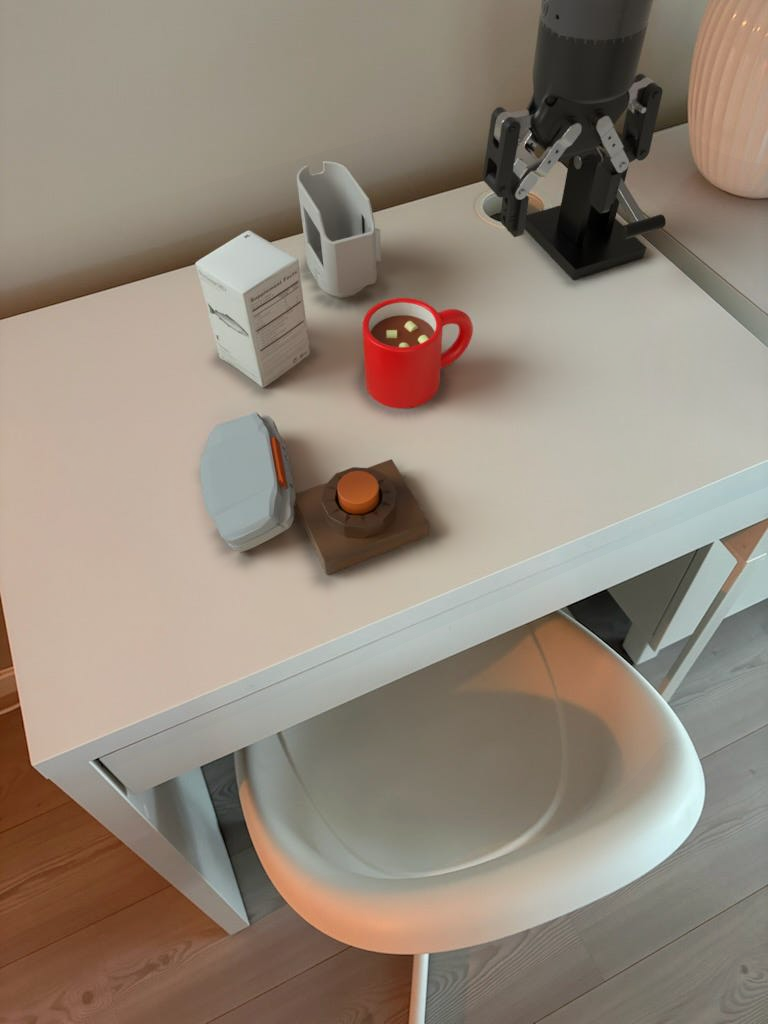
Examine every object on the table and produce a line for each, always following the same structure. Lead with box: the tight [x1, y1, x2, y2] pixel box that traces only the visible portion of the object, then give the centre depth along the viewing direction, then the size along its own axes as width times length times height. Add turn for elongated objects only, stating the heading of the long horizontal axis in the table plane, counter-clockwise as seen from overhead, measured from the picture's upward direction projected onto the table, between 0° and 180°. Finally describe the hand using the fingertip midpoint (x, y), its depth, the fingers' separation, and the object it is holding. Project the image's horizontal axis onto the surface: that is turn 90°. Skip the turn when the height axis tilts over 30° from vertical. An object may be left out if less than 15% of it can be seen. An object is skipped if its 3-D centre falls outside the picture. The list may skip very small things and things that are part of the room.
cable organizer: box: [296, 160, 382, 299], centre depth 85 cm, size 7×12×12 cm, turn 22°
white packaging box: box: [194, 229, 311, 389], centre depth 77 cm, size 7×7×13 cm
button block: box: [294, 458, 430, 576], centre depth 68 cm, size 8×10×4 cm
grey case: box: [199, 411, 296, 553], centre depth 70 cm, size 14×3×8 cm
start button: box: [337, 471, 379, 515], centre depth 66 cm, size 4×4×2 cm
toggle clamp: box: [524, 129, 647, 281], centre depth 88 cm, size 12×10×13 cm
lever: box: [601, 158, 667, 240], centre depth 83 cm, size 12×5×2 cm, turn 24°
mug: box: [362, 297, 474, 409], centre depth 77 cm, size 8×12×8 cm, turn 117°
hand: (557, 219), depth 66 cm, fingers open, 8 cm apart
